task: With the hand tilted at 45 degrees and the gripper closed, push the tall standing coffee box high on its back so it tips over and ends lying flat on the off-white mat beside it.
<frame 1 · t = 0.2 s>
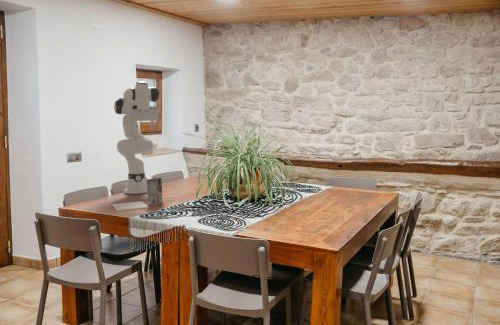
hand: (143, 127, 307), 48 cm above the table, tool pointing down, fingers open, 8 cm apart
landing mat: (129, 206, 292), on the table
coffee box: (155, 204, 298), on the table
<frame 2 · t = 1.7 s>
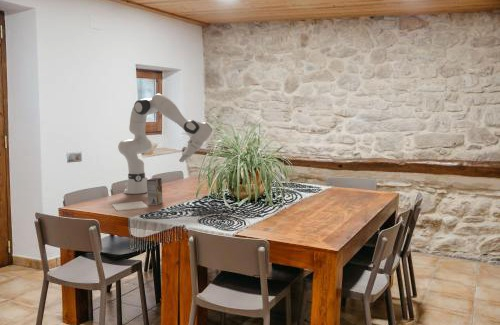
hand: (180, 161, 302), 26 cm above the table, tool tilted 40°, fingers open, 8 cm apart
nothing on the table moved.
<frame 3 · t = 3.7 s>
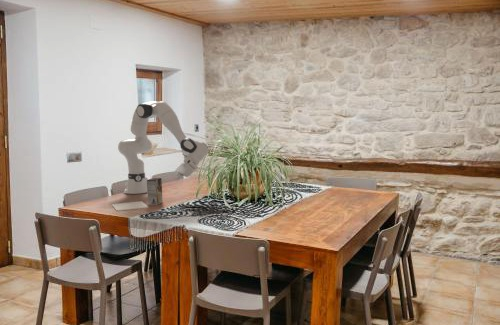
hand: (176, 179, 303), 14 cm above the table, tool tilted 45°, fingers closed
nothing on the table moved.
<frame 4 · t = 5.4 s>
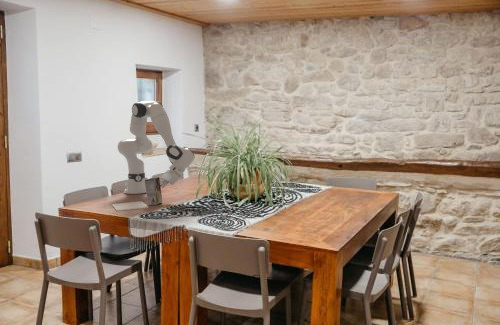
hand: (161, 186, 299), 11 cm above the table, tool tilted 45°, fingers closed
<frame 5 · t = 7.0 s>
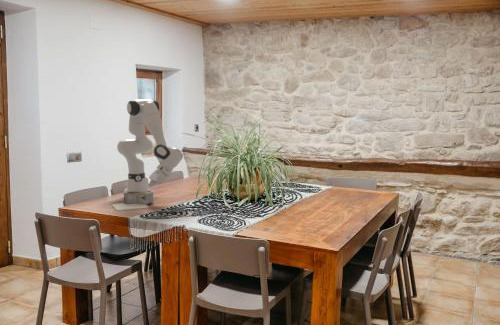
hand: (148, 186, 296), 11 cm above the table, tool tilted 45°, fingers closed
coffee box: (150, 198, 298), point 4 cm above the table, touching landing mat
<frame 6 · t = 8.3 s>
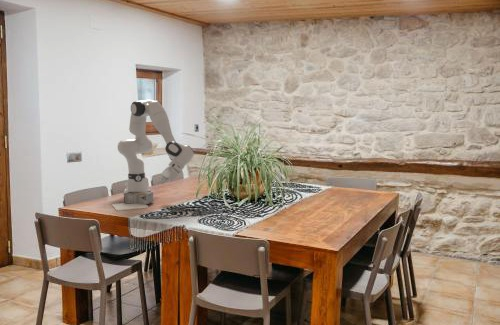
hand: (160, 183, 298), 13 cm above the table, tool tilted 45°, fingers closed
nothing on the table moved.
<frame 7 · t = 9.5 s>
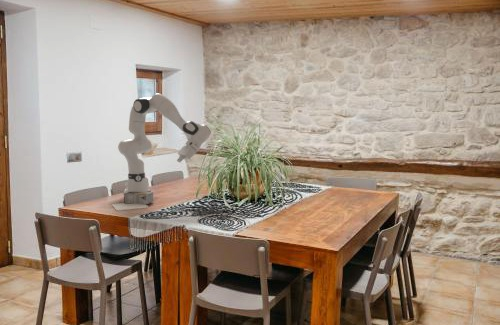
hand: (178, 161, 304), 26 cm above the table, tool tilted 45°, fingers closed
nothing on the table moved.
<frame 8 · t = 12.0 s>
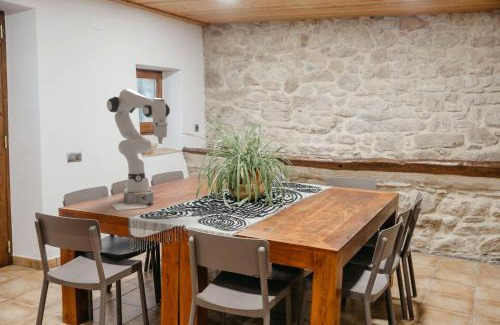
hand: (160, 143, 309), 37 cm above the table, tool pointing down, fingers closed
nothing on the table moved.
at the end: coffee box tilted 90°; coffee box touching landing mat; the gripper is holding nothing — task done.
